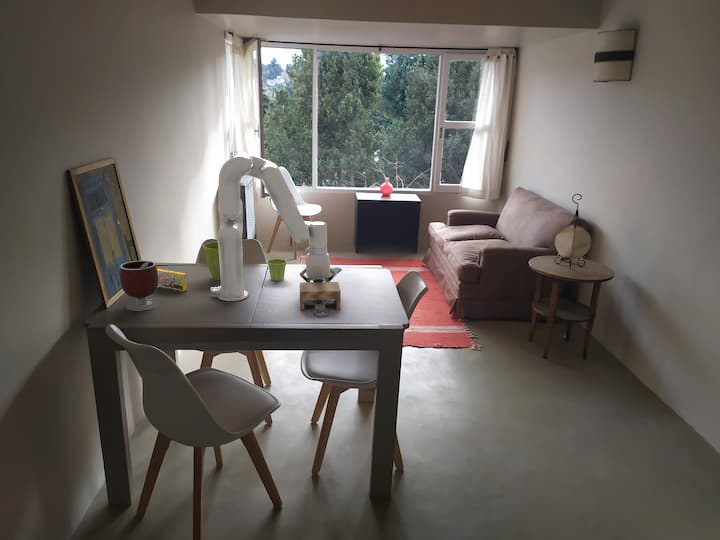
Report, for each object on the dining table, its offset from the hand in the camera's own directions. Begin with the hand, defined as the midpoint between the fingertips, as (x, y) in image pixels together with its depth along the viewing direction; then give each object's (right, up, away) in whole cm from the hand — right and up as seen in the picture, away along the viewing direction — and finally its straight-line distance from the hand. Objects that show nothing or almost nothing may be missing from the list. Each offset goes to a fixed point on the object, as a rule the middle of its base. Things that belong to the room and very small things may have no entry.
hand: (318, 290), depth 234 cm
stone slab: (+1, +6, +29) cm, 30 cm away
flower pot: (-47, +5, +19) cm, 51 cm away
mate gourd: (-68, -6, -19) cm, 71 cm away
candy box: (-65, 0, +3) cm, 65 cm away
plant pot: (-21, +4, +20) cm, 29 cm away
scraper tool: (+1, -4, -8) cm, 9 cm away
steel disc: (+3, -9, -24) cm, 26 cm away
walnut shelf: (+2, -5, -13) cm, 15 cm away
